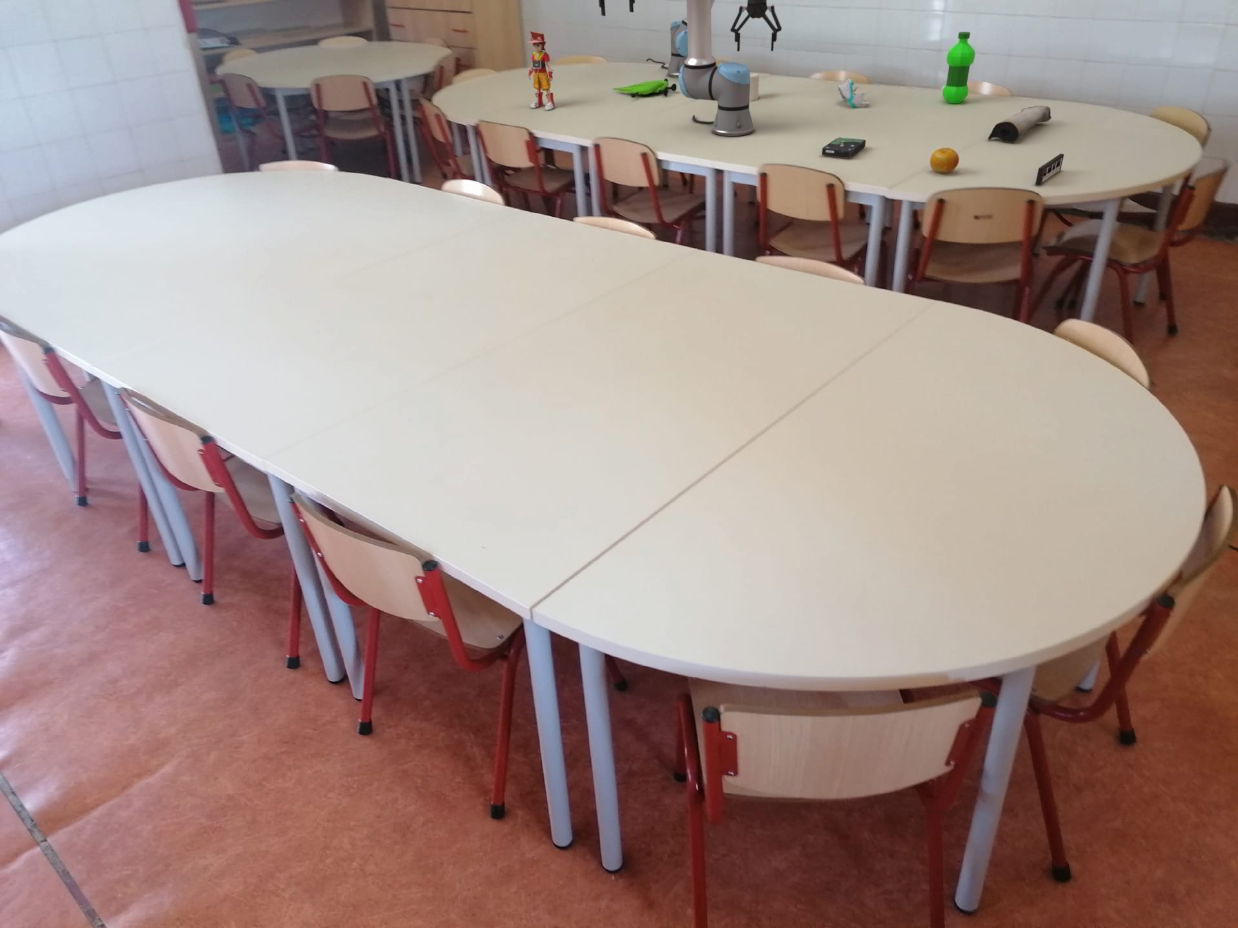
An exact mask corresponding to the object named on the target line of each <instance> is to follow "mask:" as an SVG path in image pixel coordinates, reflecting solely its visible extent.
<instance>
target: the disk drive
mask: <svg viewBox="0 0 1238 928" xmlns="http://www.w3.org/2000/svg"><path fill="white" fill-rule="evenodd" d="M866 142H867V140H866V139H860V138H853V137H852V138H849V137H848V138H847V137H840V136H839V137H837V138H835V139H833V140H832V141H830V142H829V143H828V144H826V145H825V146H823V147H822V148H821V156H824V157H825V156H826V157H833V158H839V159H840V158H841V159H851V158H853V157H854V156H855V155H857V154H858V153H859V152H861V151H862V150H863V149H865V148H866Z"/></svg>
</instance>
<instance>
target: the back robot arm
mask: <svg viewBox="0 0 1238 928" xmlns="http://www.w3.org/2000/svg"><path fill="white" fill-rule="evenodd" d="M605 1H606V0H598V7H599V8H600V12H601V13H600V14H601V16H603V17H606V2H605ZM715 1H716V0H711V9H712V8H713V6H714V3H715ZM635 3H636V0H628V7H629V9H628V10H629V11H628V12H629V13H634V10H635V9H634V4H635ZM669 30H670V60H669V62H668V66H665V65H666V63H665V62H663V61H657V60H654V59H653V58H651V57H650V58H646V62H648V61H651V62H653V63H655V64H662V65H661V66H660V67H661V68H662V69H665V70H667V72H666V73H667V76H668V77H671V78H679V74H680V69H681V67H682V66H683V65H684V61H685V60H686V59H687V58H688V31H687V16H685V17H683V18H682V20H675V21H672V22H671V23H670V27H669Z"/></svg>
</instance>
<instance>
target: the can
mask: <svg viewBox="0 0 1238 928" xmlns="http://www.w3.org/2000/svg"><path fill="white" fill-rule="evenodd" d="M750 80H751V81H750V98H749V102H750V101H751V102H752V101H756V100H759V90H760V89H759V88H760V84H759V82H760V75H759V73H754V72H750Z"/></svg>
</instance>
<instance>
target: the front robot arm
mask: <svg viewBox="0 0 1238 928" xmlns="http://www.w3.org/2000/svg"><path fill="white" fill-rule="evenodd" d="M746 2H747V5H746V6H744V5H740V6H739V7H738V13H737V15H736V17H735V19H734V22H733V24H732V26H731V28H730V32H731V33H734V42H735V43H736V52H740V50H741V32H740V31H741V29H742V28H743V27H744V25H745V24H746V23H747V21H748V20H749V19H750V18H751V19H753V20H754V19H761V18H762V19H763V20H764V22H765V23H766V24H767V25H768V27H769V28H770V29H771V31H772V32H771V40H770V41H771V42H770V52H774V49H775V48H774V44H775V43H776V42H777V39H778V33H779V32H781V31H782V29H783V28H782V25H781V23H780V20H779V18H778V15H777V13H776V7H775V4H772V5H768V3H767V2H768V0H747V1H746ZM745 11H746V13H747V15H746V16H745V18H744V19H743V20H742V21H741V22H740V24H739V25H738V23H739V20H740V18H741V17H742V14H743V13H744V12H745ZM767 11H768V12H769V13H771V16H772V19H773V20H774V23H775V25H774V23H773V22H772V21H771V20H770V17H768V15H767V14H766V12H767ZM686 17H687V31H688V58H687V59H686V60H685V61H684V65H683V66H682V67H681V69H680V74H679V77H678V86H679V90H680V92H681V93H682V95H683V96H684V97H685V98H687V99H692V100H703V101H712V102H713V101H715V102H717V111H716V114H715V118H714V120H712V121H706V120H698V119H695V118H696V114H693V115H692V121H693V122H695V123H697V124H704V125H712V133H713V134H715V135H717V136H721V137H741V136H746V135H750V134H752V133H754V127H755V126H754V122H753V118H752V115H751V111H750V101H749V98H750V81H751V80H750V73H751V71H750V68H749V67H748V66H747V65H746V64H743V63H740V62H735V61H731V62H729V61H724V62H720V63H719V64H718V65H717V59H716V58H715V56H713V51H712V50H713V49H712V47H713V45H712V43H713V42H712V8H711V0H686ZM737 25H738V26H737ZM736 27H737V28H736Z"/></svg>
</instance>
